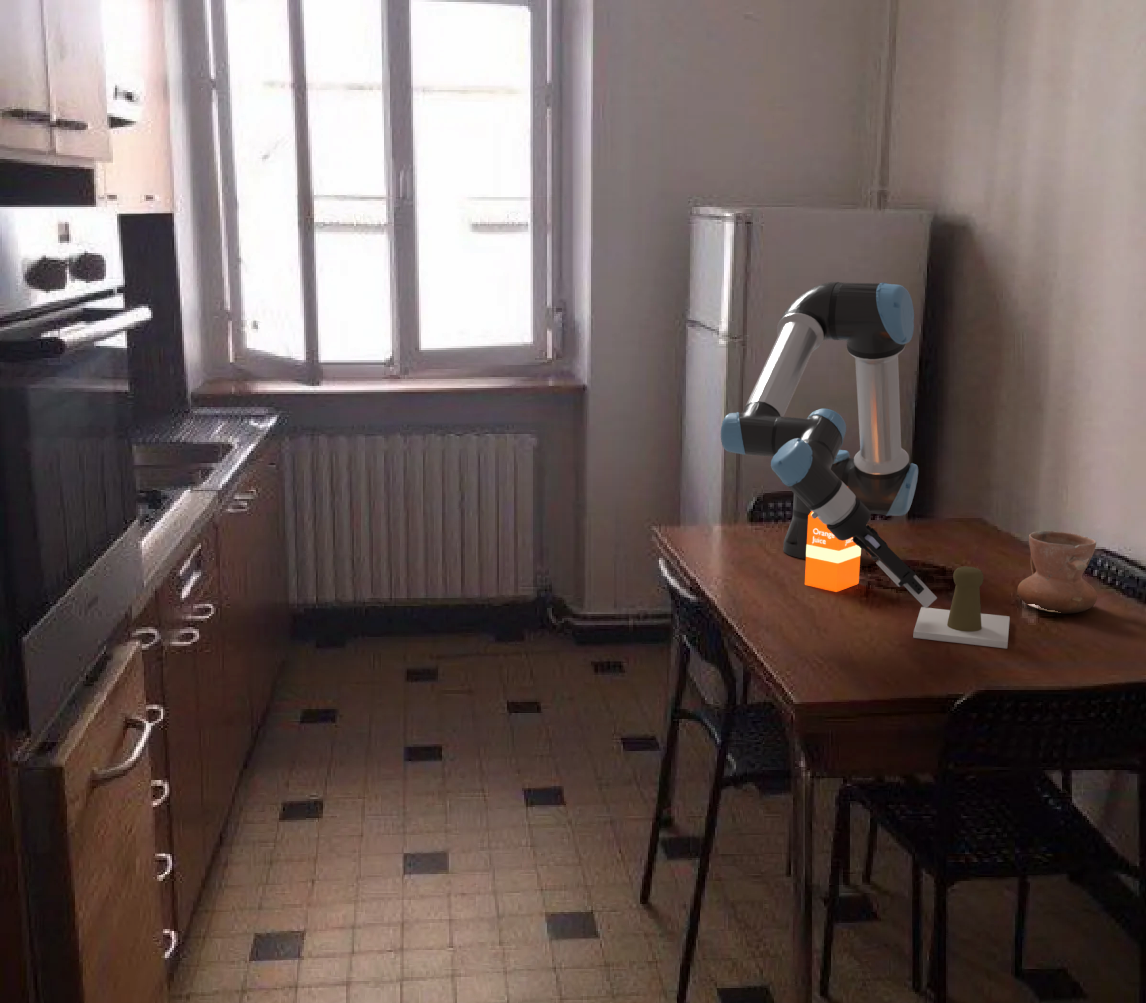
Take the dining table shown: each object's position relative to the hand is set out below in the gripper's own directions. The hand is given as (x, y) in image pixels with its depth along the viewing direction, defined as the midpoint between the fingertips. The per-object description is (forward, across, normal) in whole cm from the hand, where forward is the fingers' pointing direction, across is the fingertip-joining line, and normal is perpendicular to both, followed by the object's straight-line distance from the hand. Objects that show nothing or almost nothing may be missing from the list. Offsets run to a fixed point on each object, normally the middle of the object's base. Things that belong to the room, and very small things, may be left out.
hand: (917, 592), depth 228 cm
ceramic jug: (+29, -13, +18) cm, 36 cm away
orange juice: (+1, -31, -10) cm, 33 cm away
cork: (+11, +2, +2) cm, 11 cm away
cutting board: (+12, 0, +1) cm, 12 cm away
